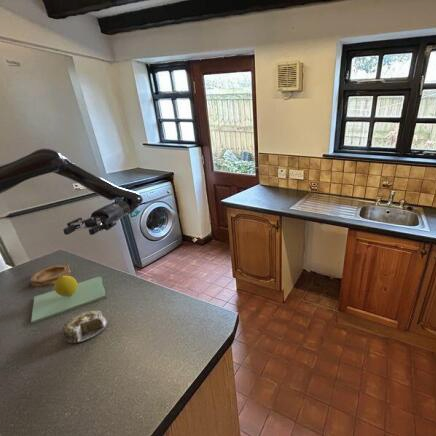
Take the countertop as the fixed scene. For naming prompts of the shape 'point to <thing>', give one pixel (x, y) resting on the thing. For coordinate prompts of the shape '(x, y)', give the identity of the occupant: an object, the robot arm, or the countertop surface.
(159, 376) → the countertop surface
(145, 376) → the countertop surface
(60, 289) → the lemon
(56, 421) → the countertop surface
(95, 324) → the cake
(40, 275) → the holder
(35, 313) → the mat
